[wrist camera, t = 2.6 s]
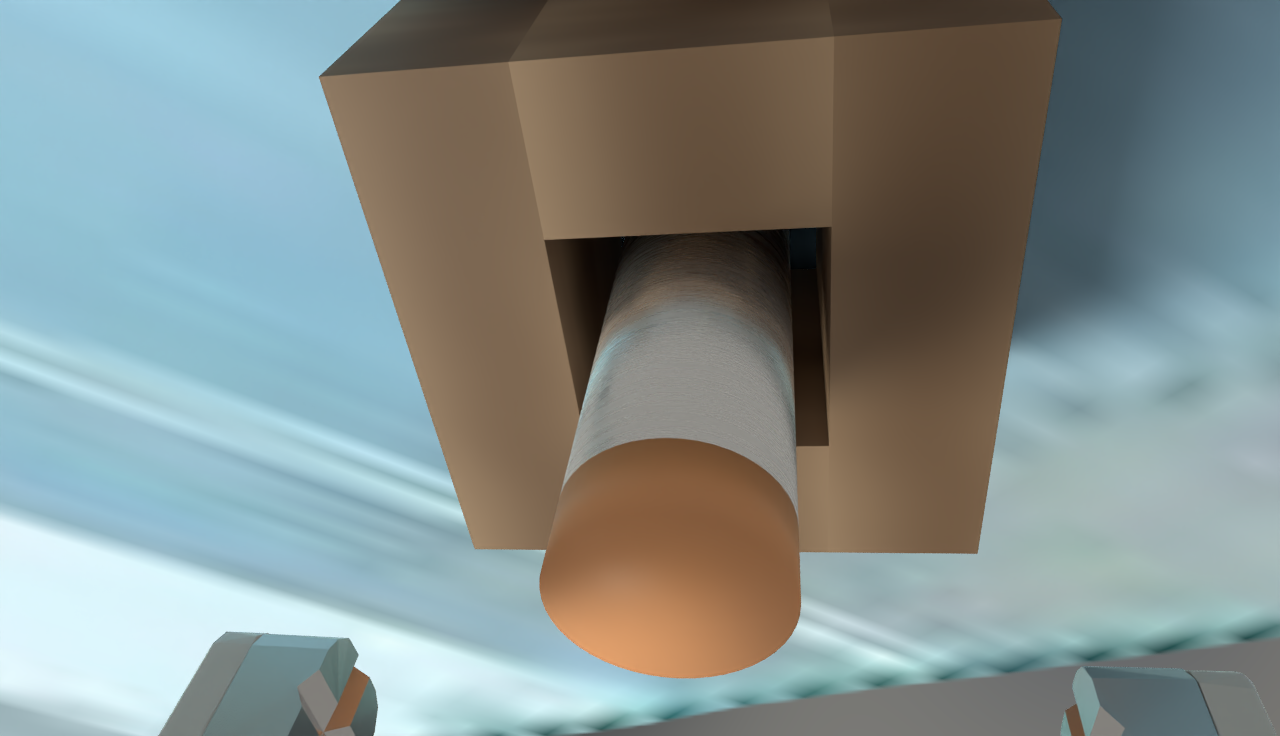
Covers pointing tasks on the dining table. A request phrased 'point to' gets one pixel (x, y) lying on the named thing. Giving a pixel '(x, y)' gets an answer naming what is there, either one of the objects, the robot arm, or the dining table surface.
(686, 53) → the hitch block
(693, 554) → the pin
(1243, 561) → the dining table surface
